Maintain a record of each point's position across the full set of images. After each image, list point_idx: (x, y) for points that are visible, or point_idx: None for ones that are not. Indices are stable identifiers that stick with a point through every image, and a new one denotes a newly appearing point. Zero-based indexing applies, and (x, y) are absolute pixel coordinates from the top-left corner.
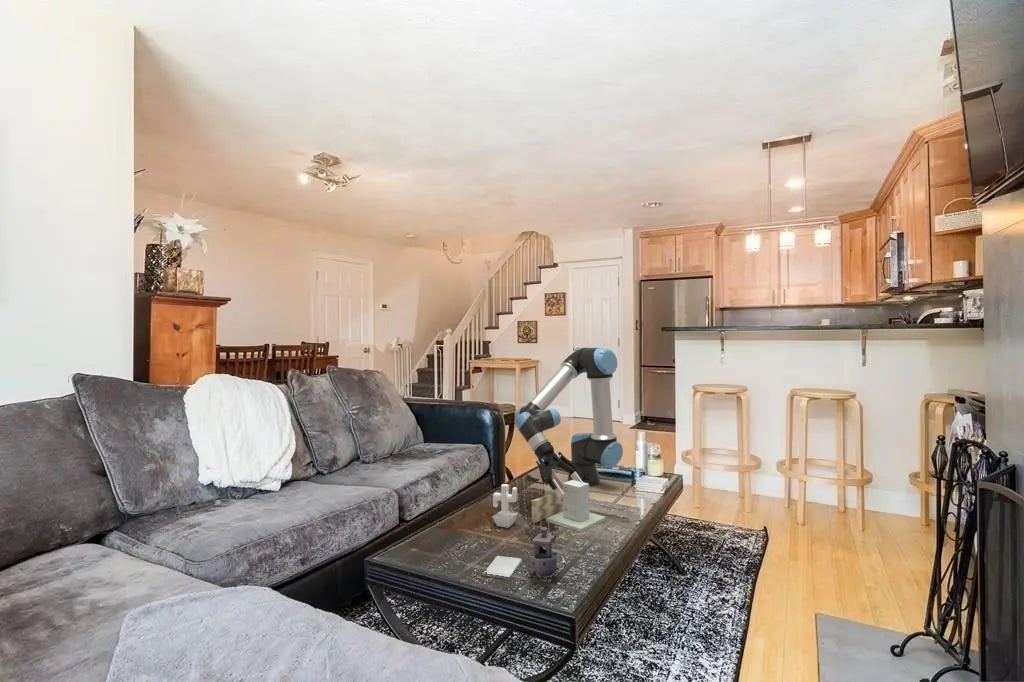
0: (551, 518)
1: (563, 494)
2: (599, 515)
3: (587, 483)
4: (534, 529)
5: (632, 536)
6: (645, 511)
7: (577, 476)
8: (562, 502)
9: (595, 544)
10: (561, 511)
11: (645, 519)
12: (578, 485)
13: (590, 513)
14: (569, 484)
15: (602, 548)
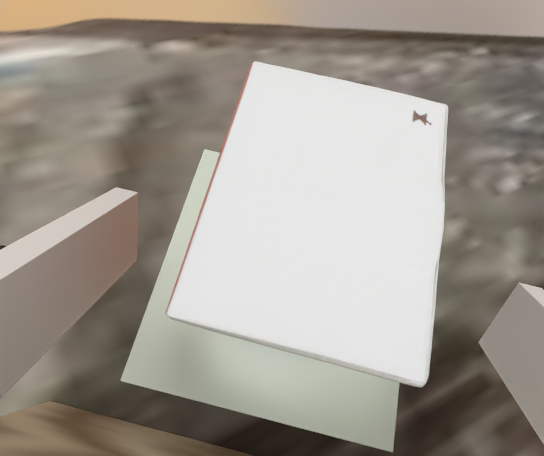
0: (377, 414)
1: (519, 292)
2: (195, 180)
3: (258, 75)
4: (533, 447)
5: (331, 36)
6: (20, 45)
7: (34, 260)
8: (143, 451)
9: (482, 119)
10: (174, 434)
11: (128, 29)
12: (401, 134)
13: (185, 230)
14: (430, 254)
15: (496, 91)
